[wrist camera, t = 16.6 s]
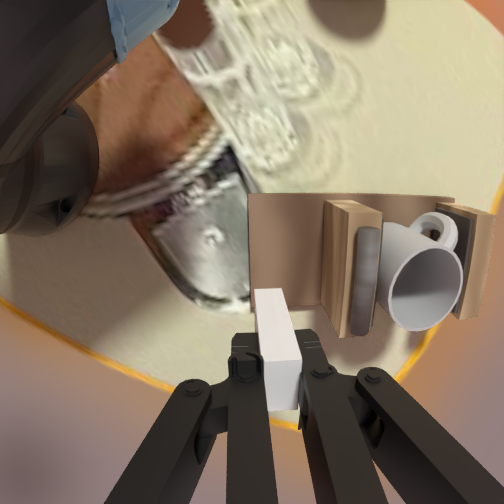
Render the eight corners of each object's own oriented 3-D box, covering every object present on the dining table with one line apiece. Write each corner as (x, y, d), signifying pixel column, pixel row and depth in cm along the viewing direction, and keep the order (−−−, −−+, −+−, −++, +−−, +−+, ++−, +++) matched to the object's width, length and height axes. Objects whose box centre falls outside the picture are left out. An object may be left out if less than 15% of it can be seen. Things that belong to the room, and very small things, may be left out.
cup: (336, 264, 30) (369, 303, 21) (397, 183, 28) (450, 195, 19) (384, 301, 31) (422, 344, 23) (440, 228, 29) (492, 251, 21)
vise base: (251, 303, 32) (253, 346, 24) (247, 193, 29) (249, 206, 21) (438, 290, 32) (476, 321, 25) (449, 197, 29) (496, 209, 22)
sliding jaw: (320, 301, 31) (344, 348, 22) (324, 199, 28) (356, 216, 20) (349, 299, 31) (380, 344, 23) (355, 199, 28) (396, 216, 20)
